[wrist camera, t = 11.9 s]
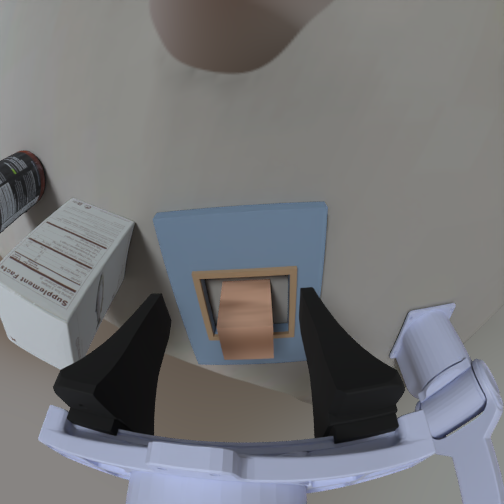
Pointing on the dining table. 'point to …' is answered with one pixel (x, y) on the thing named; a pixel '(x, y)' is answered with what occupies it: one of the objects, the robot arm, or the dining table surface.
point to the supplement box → (63, 281)
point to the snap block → (246, 320)
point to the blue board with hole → (242, 264)
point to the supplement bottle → (19, 186)
